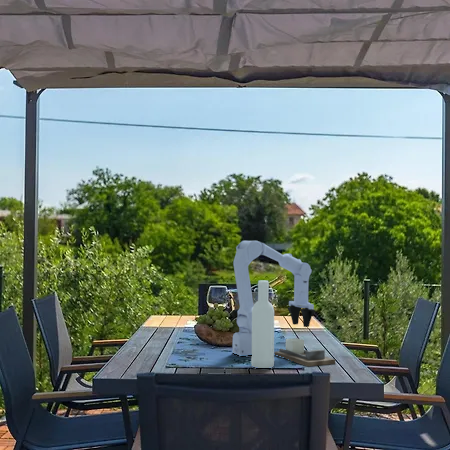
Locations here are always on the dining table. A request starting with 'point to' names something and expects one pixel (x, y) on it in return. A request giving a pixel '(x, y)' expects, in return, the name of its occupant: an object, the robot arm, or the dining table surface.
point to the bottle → (263, 329)
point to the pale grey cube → (295, 345)
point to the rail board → (306, 362)
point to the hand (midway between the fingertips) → (300, 325)
